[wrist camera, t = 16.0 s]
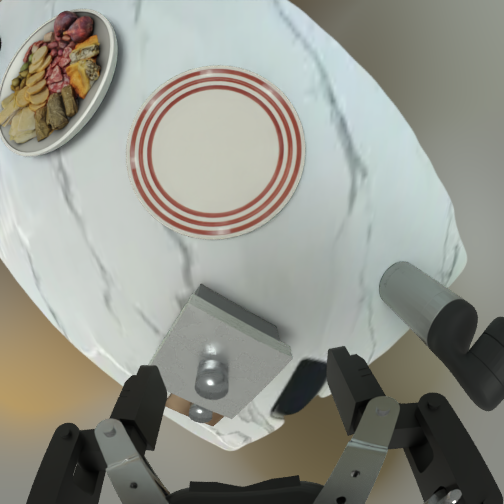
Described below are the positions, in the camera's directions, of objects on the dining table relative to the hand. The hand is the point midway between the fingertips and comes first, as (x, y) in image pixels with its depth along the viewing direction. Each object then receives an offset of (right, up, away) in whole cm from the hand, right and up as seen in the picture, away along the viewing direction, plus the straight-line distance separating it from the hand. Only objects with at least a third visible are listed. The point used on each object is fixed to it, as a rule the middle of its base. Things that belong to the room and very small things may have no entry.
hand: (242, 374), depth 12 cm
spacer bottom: (-6, -13, +29) cm, 32 cm away
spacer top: (-11, -28, +42) cm, 51 cm away
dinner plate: (-5, +22, +29) cm, 37 cm away
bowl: (-37, +38, +23) cm, 58 cm away
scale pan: (-6, -12, +32) cm, 35 cm away
